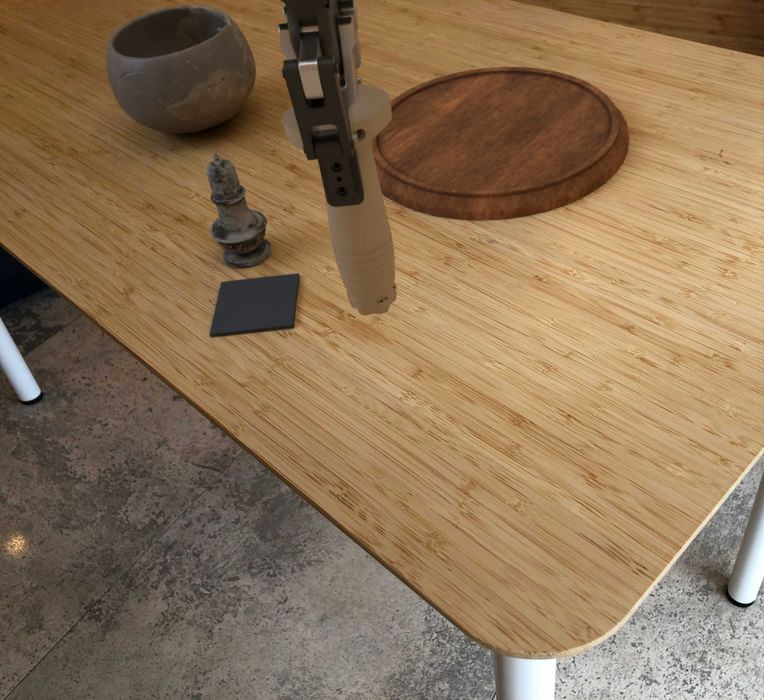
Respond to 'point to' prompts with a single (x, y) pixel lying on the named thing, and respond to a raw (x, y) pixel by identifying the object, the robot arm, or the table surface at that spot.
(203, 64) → the bowl
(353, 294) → the handle
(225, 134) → the table surface
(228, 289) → the place mat
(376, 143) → the cutting board
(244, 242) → the grey stone chess piece
